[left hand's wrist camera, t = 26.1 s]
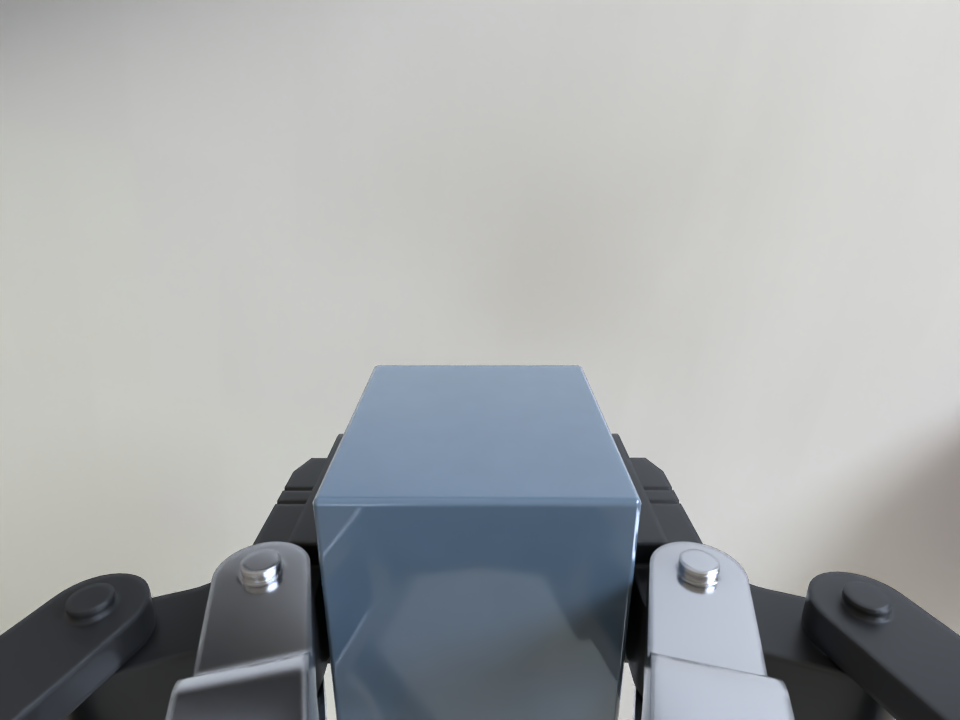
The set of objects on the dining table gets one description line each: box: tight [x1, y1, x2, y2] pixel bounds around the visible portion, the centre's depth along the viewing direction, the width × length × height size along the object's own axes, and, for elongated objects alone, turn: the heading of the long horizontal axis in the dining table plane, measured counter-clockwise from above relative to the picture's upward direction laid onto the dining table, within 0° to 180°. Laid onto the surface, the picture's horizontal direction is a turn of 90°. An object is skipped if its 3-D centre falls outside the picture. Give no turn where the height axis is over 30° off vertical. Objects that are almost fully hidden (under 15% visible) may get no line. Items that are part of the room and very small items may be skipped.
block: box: [313, 366, 642, 720], centre depth 10 cm, size 5×4×5 cm
